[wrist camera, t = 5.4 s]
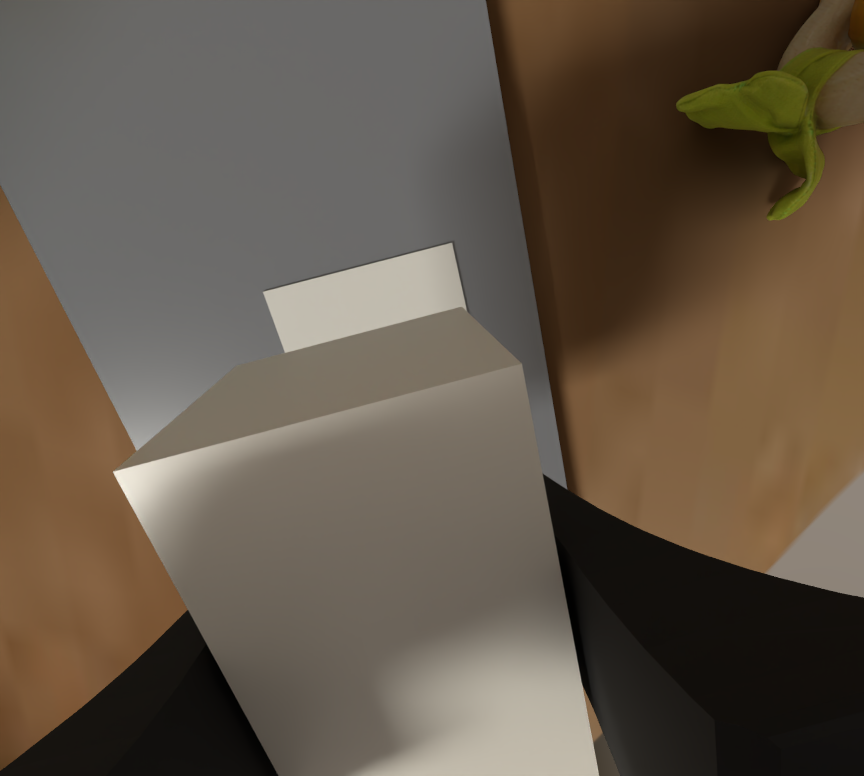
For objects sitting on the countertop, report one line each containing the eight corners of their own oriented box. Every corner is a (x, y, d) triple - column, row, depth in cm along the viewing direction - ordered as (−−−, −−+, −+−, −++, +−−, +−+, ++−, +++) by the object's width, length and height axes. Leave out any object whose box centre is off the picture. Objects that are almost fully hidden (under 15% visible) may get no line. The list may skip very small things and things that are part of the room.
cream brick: (362, 675, 12) (349, 905, 8) (236, 365, 9) (112, 471, 5) (533, 629, 12) (609, 834, 8) (461, 306, 9) (522, 364, 5)
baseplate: (268, 682, 23) (263, 700, 22) (-113, -75, 13) (-148, -98, 12) (581, 598, 23) (588, 612, 22) (441, -214, 13) (446, -245, 12)
